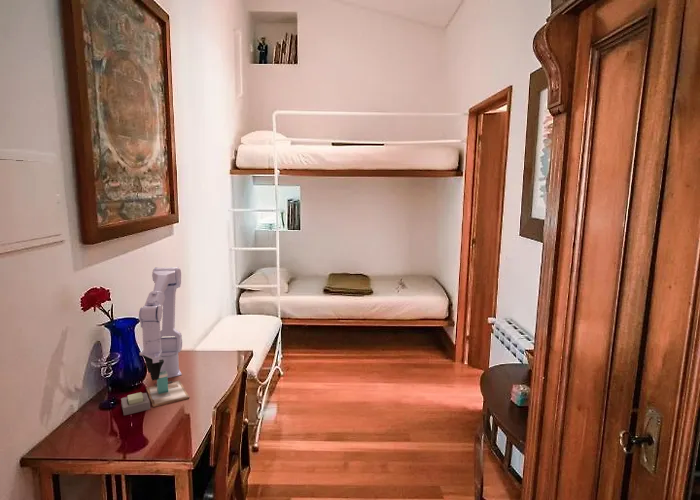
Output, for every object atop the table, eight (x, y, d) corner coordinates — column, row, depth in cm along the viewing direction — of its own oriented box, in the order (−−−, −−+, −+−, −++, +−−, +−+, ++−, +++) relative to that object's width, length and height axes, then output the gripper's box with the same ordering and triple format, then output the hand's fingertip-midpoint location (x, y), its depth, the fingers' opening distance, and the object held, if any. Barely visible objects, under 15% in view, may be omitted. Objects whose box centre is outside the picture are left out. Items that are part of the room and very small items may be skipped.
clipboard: (146, 389, 159) (146, 386, 158) (179, 381, 165) (179, 378, 165) (153, 407, 145) (152, 403, 145) (189, 398, 152) (189, 395, 152)
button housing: (121, 405, 146) (121, 398, 146) (146, 399, 151) (146, 392, 150) (123, 415, 140) (123, 408, 139) (150, 409, 144) (149, 401, 144)
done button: (127, 402, 146) (127, 395, 145) (141, 399, 148) (141, 392, 148) (129, 407, 142) (128, 400, 142) (143, 404, 144) (143, 397, 144)
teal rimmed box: (157, 390, 156) (156, 372, 155) (166, 388, 157) (165, 370, 157) (158, 394, 153) (157, 375, 152) (168, 391, 155) (167, 373, 154)
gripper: (136, 335, 153) (138, 371, 154) (142, 347, 141) (144, 385, 142) (157, 332, 157) (159, 367, 158) (165, 343, 145) (166, 381, 146)
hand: (153, 375), depth 151 cm, fingers open, 7 cm apart
